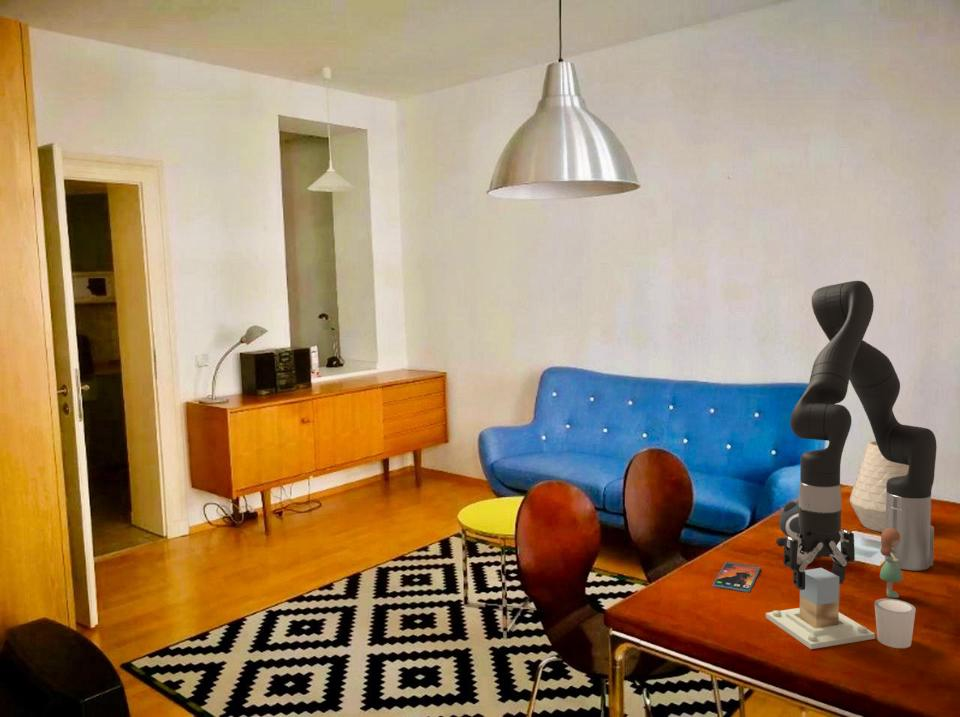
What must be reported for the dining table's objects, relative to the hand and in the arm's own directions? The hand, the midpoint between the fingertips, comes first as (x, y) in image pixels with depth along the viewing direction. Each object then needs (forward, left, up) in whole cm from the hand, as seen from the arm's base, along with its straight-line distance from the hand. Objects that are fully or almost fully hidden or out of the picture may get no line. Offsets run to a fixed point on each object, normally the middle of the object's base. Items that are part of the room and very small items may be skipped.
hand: (818, 585), depth 148 cm
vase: (-56, -46, -9) cm, 73 cm away
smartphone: (+1, -27, -9) cm, 29 cm away
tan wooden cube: (0, 0, -8) cm, 8 cm away
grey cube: (0, 0, -3) cm, 3 cm away
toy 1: (-19, -31, -9) cm, 37 cm away
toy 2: (-24, -8, -9) cm, 27 cm away
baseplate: (0, 0, -9) cm, 9 cm away
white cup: (-10, +9, -9) cm, 16 cm away
